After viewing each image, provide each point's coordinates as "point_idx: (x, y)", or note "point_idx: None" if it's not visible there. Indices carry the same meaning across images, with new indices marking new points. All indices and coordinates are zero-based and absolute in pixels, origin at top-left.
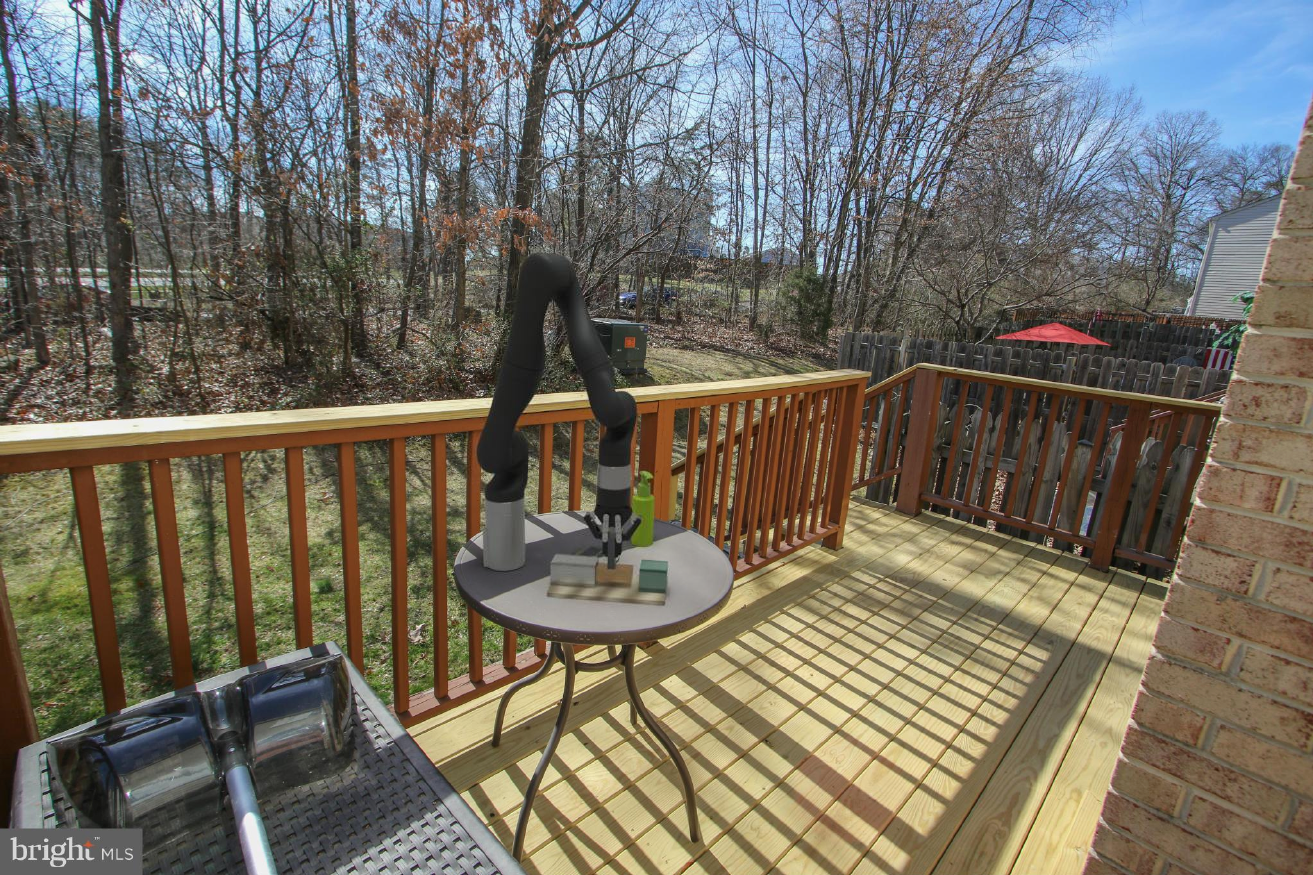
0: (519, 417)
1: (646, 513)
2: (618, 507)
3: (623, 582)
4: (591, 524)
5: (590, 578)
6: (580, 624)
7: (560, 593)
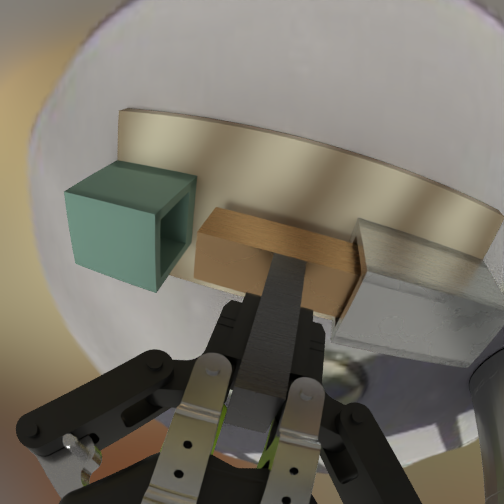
0: None
1: None
2: None
3: None
4: (389, 494)
5: (377, 241)
6: (419, 6)
7: (472, 203)
